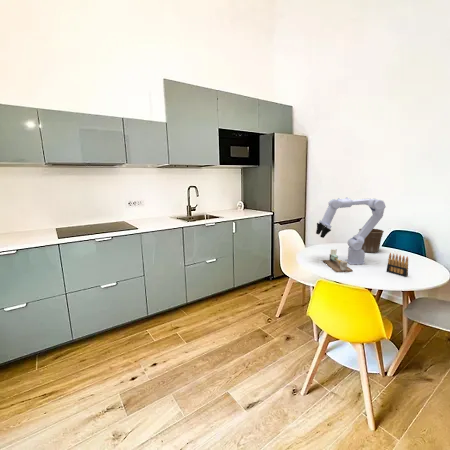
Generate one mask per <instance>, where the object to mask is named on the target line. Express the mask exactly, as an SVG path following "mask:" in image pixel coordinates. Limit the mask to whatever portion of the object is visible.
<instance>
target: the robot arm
mask: <svg viewBox="0 0 450 450" xmlns="http://www.w3.org/2000/svg"><path fill="white" fill-rule="evenodd" d="M360 205H361V206H362V205H363V206H365V205H366V206H368V207H369V208H370V210H371V213H372V215H371V216H370V217H369V219H368V220H367V221H366V223H365V224H364V225H363V226H362V227H361V228H360V229H361V230H360V231H359V230H358V232H357V233H356V234H355V235H353V236H352V237H350V238H349V239H348V240H347V245H348V248H347V252H348V253H347V259H345V260H344V261H346V262H348V263H347V264H349V265H365V257H366V254H365V253H366V252H364V250H362V249H361V248H362V245H363V244H364V239H365V238H366V237H367V235H368V234H369V233H370V232H371V231H372V229H375V227H376V225H377V224H379V222H380V221H381V220H382V218H383V216H384V213H385V208H387V207H386V203H385V201H384V200H381V199H377V198H360V199H351V198H350V197H345V198H339V197H338V198H337V199H336V198H332V199H330V200H329V201H328V207H327V208H326V210H325V212H324V215H323V217H322V219H319V221H318V222H317V223H316V231H315V234H316V235H319V237H320V238H322V239H323V238H325V236H326V235H327V234H329V233H330V232H331V231H332V229H331V228H332V225H331V223H332V221H333V219H334V217H335V215H336V212H337V210H338V209H343V208H346V209H347V208H351V207H352V206H360Z"/></svg>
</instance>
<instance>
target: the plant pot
mask: <svg viewBox="0 0 450 450" xmlns="http://www.w3.org/2000/svg"><path fill="white" fill-rule="evenodd" d="M361 229H362V228H359V229H358V232H359V231H360V230H361ZM383 234H384V230H383V229H378V228H373V229H372V231H371V232H370V233H369V234H368V235H367V237H366V238H365V239H364V244H363V245H362V248H361V249H362V250H364V253H368V254H370V253H371V254H372V253H374V254H377V253H379V251H380V247H381V241H382V237H383Z"/></svg>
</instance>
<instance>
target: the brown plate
mask: <svg viewBox="0 0 450 450" xmlns="http://www.w3.org/2000/svg"><path fill="white" fill-rule="evenodd" d="M335 259H336V260H337V261H333V260H332V259H331V253H330V254H329V259H323V260H322V262H323V263H324V264H325V265H326V264H327V265H326V266H327V267H329V268H330V269H331V268H332V269H331V270H332V271H334V272H335V273H353V272H354V271H353V269H351V268H350V267H349V266H348V264H349V263H348V262H346V261H345V260H340V259H339V258H338V259H337V258H336V257H335Z"/></svg>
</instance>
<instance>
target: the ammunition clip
mask: <svg viewBox="0 0 450 450" xmlns="http://www.w3.org/2000/svg"><path fill="white" fill-rule="evenodd" d="M386 265H387V266H386V271H385V272H386V273H390V274H393V275H396V276H400V277H404V278H408V277H409V276H408V275H409V257H408V255H407V256H406V257H405V255H401V254H398V253H396V255H395V253H392V252H389V255H388V259H387V264H386Z"/></svg>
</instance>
